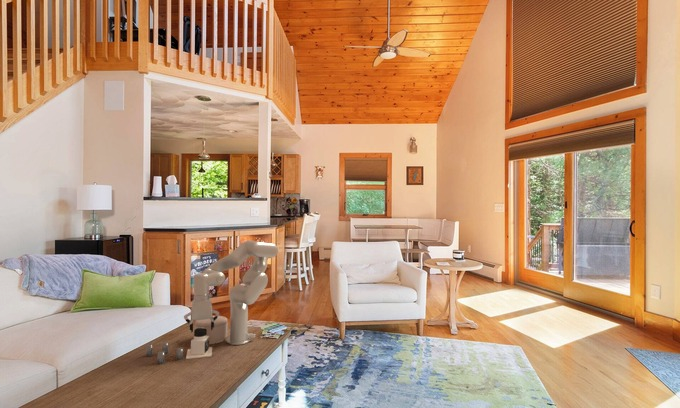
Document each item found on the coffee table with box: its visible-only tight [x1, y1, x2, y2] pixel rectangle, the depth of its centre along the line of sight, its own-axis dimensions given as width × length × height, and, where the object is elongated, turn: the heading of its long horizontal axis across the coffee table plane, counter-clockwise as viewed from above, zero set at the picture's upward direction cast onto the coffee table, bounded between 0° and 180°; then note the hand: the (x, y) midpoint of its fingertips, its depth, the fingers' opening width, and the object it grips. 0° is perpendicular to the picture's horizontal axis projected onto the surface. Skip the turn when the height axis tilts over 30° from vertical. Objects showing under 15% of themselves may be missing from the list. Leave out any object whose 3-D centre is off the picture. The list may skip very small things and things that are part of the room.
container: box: [193, 315, 229, 345], centre depth 208 cm, size 18×18×12 cm
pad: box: [185, 346, 213, 360], centre depth 187 cm, size 12×12×1 cm
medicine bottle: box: [190, 328, 210, 355], centre depth 187 cm, size 7×7×12 cm
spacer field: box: [145, 341, 184, 365], centre depth 181 cm, size 18×16×5 cm
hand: (202, 330), depth 188 cm, fingers open, 9 cm apart
